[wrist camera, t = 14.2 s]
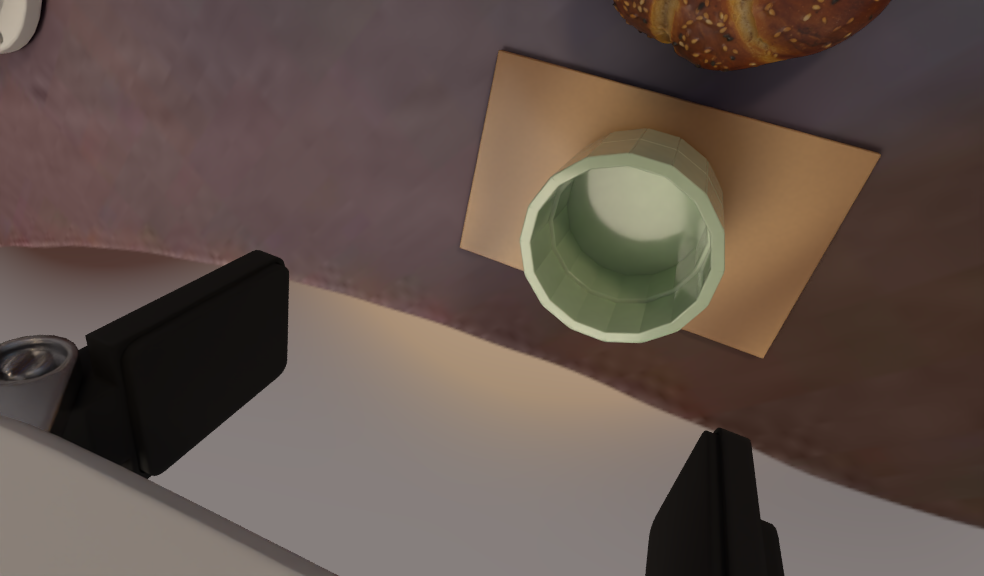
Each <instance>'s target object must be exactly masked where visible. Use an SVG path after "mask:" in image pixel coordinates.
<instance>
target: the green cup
mask: <svg viewBox="0 0 984 576" xmlns="http://www.w3.org/2000/svg"><path fill="white" fill-rule="evenodd" d="M520 247H521V254H522V261H523V268H524V274H525V276H526V278H527V280H528V282H529V283H530V285H531V287H532V289H533V290H534V292H535V294H536V296H537V297H538V299H539V301H540V302H541V304H542V305H543V306H544V307H545V308H546V309H547V310H548V311H549V312H551V313H552V314H553V315H554V316H555V317H557V318H558V319H559V320H560V321H561V322H563V323H564V324H565V325H566V326H567V327H569V328H570V329H572V330H575V331H578V332H580V333H583V334H585V335H588V336H591V337H593V338H596V339H598V340H601V341H605V342H626V343H644V342H647V341H650V340H653V339H656V338H659V337H662V336H665V335H668V334H671V333H674V332H677V331H679V330H680V329H681V328H683V327H684V326H685V325H686V324H687V323H689V322H690V321H691V320H692V319H693V318H695V317H696V316H697V315H698V314H699V313H701V312H702V311H703V310H704V309H705V308H707V306H708V305H709V303H710V301H711V299H712V297H713V295H714V293H715V291H716V289H717V287H718V285H719V282H720V280H721V278H722V276H723V274H724V271H725V226H724V207H723V192H722V188H721V186H720V184H719V182H718V180H717V178H716V176H715V174H714V172H713V169H712V167H711V165H710V163H709V162H708V161H707V159H706V158H705V157H704V156H702V155H701V154H700V153H699V152H698V151H696V150H695V149H694V148H693V147H692V146H690V145H689V144H688V143H687V142H686V141H684V140H683V139H681V138H680V137H677V136H673V135H670V134H667V133H663V132H660V131H656V130H653V129H649V128H642V129H633V130H624V131H616V132H612V133H609V134H608V135H606V136H604V137H602V138H600V139H598V140H597V141H595V142H593V143H591V144H589V145H588V146H586V147H584V148H583V149H582V150H581V151H579V152H578V153H577V154H576V155H575V156H574V157H573V158H572V159H570V160H569V161H568V162H567V163H566V164H565V165H564V166H562V167H561V168H560V169H559V170H558V171H557V172H556V173H555V174H553V175H552V176H551V177H550V178H549V180H548V181H547V182H546V184H545V185H544V186H543V187H542V189H541V190H540V191H539V192H538V194H537V195H536V196H535V198H534V199H533V200H532V201H531V203H530V204H529V206H528V209H527V212H526V216H525V220H524V224H523V228H522V232H521V236H520Z"/></svg>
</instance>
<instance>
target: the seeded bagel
mask: <svg viewBox="0 0 984 576" xmlns="http://www.w3.org/2000/svg"><path fill="white" fill-rule="evenodd" d="M613 1H614V4H613V5H614V6H615V8H616V10H617V11H618V12H620V15H621V16H622V17H623V18H624V19H626V23H627V24H629V25H632V26H634V27H635V28H636V29H637V30H638V31H639V32H640V33H642V32H644V33H646V34H647V36H648V37H650V38H655V39H656V40H658V41H660V42H662V43H667V44H668V43H672V45H673V46H674V50H675V52H676V53H677V54H678V55H679V56H681V57H683V58H685V59H686V60H688V61H689V62H691V63H693V64H695V66H696V67H698V68H700V67H701V68H703V69H710V70H717V71H733V70H739V69H745V68H751V67H757V66H759V65H763V64H768V63H773V62H777V61H781V60H787V59H791V58H797V57H802V56H807V55H812V54H815V53H818V52H821V51H823V50H826V49H828V48H830V47H833V46H835V45H837V44H839V43H841V42H843V41H844V40H846V39H848V38H849V37H851V36H852V35H854V34H855V33H857V32H858V31H860V30H861V29H862V28H864V27H865V26H866V25H867V24H869V23H870V22H871V21H872V20H874V19H875V18H876V17H877V16H878V15H879V14H880V13H881V12H882V11H883V10H884V9H885V7H886V6H887V5H888V4H889V3H890V1H891V0H613Z"/></svg>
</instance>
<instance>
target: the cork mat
mask: <svg viewBox="0 0 984 576" xmlns="http://www.w3.org/2000/svg"><path fill="white" fill-rule="evenodd" d="M642 128H649V129H653V130H656V131H660V132H663V133H667V134H670V135H673V136H677V137H680V138H681V139H683V140H684V141H686V142H687V143H688V144H689V145H690V146H692V147H693V148H694V149H695V150H696V151H698V152H699V153H700V154H701V155H702V156H704V157H705V158H706V159H707V161H708V162H709V163H710V165H711V167H712V169H713V172H714V174H715V176H716V178H717V180H718V182H719V184H720V186H721V188H722V192H723V207H724V226H725V271H724V274H723V276H722V278H721V280H720V282H719V285H718V287H717V289H716V291H715V293H714V295H713V297H712V299H711V301H710V303H709V305H708V306H707V308H705V309H704V310H703V311H702V312H701V313H699V314H698V315H697V316H696V317H695V318H693V319H692V320H691V321H690V322H689V323H687V324H686V325H685V326H684V327H683V328H681V329H683V330H686V331H689V332H692V333H694V334H697V335H700V336H703V337H705V338H708V339H711V340H714V341H716V342H719V343H722V344H724V345H727V346H730V347H733V348H735V349H738V350H741V351H744V352H746V353H749V354H752V355H755V356H757V357H760V358H764V356H765V354H766V353H767V351H768V349H769V347H770V346H771V344H772V342H773V341H774V339H775V337H776V335H777V334H778V332H779V330H780V328H781V327H782V325H783V323H784V322H785V320H786V318H787V316H788V315H789V313H790V311H791V310H792V308H793V306H794V304H795V303H796V301H797V299H798V297H799V296H800V294H801V292H802V291H803V289H804V287H805V285H806V284H807V282H808V280H809V279H810V277H811V275H812V273H813V272H814V270H815V268H816V266H817V265H818V263H819V261H820V260H821V258H822V256H823V254H824V253H825V251H826V249H827V248H828V246H829V244H830V242H831V241H832V239H833V237H834V235H835V234H836V232H837V230H838V229H839V227H840V225H841V223H842V222H843V220H844V218H845V217H846V215H847V213H848V211H849V210H850V208H851V206H852V204H853V203H854V201H855V199H856V198H857V196H858V194H859V192H860V191H861V189H862V187H863V186H864V184H865V182H866V180H867V179H868V177H869V175H870V173H871V172H872V170H873V168H874V167H875V165H876V163H877V161H878V160H879V158H880V156H881V154H879V153H878V152H874V151H870V150H867V149H863V148H859V147H856V146H852V145H848V144H845V143H841V142H837V141H834V140H830V139H826V138H823V137H819V136H815V135H812V134H808V133H804V132H801V131H797V130H793V129H790V128H786V127H782V126H779V125H775V124H771V123H768V122H764V121H760V120H757V119H753V118H749V117H746V116H742V115H739V114H735V113H731V112H728V111H724V110H720V109H717V108H713V107H709V106H706V105H702V104H698V103H695V102H691V101H687V100H684V99H680V98H676V97H673V96H669V95H665V94H662V93H658V92H654V91H651V90H647V89H643V88H640V87H636V86H632V85H629V84H625V83H621V82H618V81H614V80H611V79H607V78H603V77H600V76H596V75H592V74H589V73H585V72H581V71H578V70H574V69H570V68H567V67H563V66H559V65H556V64H552V63H548V62H545V61H541V60H537V59H534V58H530V57H526V56H523V55H519V54H515V53H512V52H508V51H504V50H499V52H498V57H497V62H496V67H495V72H494V77H493V82H492V87H491V92H490V97H489V102H488V107H487V112H486V117H485V122H484V127H483V132H482V137H481V142H480V147H479V152H478V157H477V162H476V167H475V172H474V177H473V182H472V187H471V193H470V198H469V203H468V208H467V213H466V218H465V223H464V228H463V233H462V238H461V243H460V248H462V249H465V250H468V251H470V252H473V253H476V254H479V255H481V256H484V257H487V258H490V259H492V260H495V261H498V262H500V263H503V264H506V265H509V266H511V267H514V268H517V269H520V270H522V271H524V268H523V261H522V254H521V247H520V236H521V232H522V228H523V224H524V220H525V216H526V212H527V209H528V206H529V204H530V203H531V201H532V200H533V199H534V198H535V196H536V195H537V194H538V192H539V191H540V190H541V189H542V187H543V186H544V185H545V184H546V182H547V181H548V180H549V178H550V177H551V176H552V175H553V174H555V173H556V172H557V171H558V170H559V169H560V168H561V167H562V166H564V165H565V164H566V163H567V162H568V161H569V160H570V159H572V158H573V157H574V156H575V155H576V154H577V153H578V152H579V151H581V150H582V149H583V148H584V147H586V146H588V145H589V144H591V143H593V142H595V141H597V140H598V139H600V138H602V137H604V136H606V135H608V134H609V133H612V132H616V131H624V130H633V129H642Z"/></svg>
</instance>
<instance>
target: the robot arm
mask: <svg viewBox="0 0 984 576" xmlns="http://www.w3.org/2000/svg"><path fill="white" fill-rule="evenodd" d="M41 6H42V0H0V53H10V52H14V51H18V50H19V49H21V48H22V47H23V46H25V45H26V44H27V43H28V42H29V40H30V39H31V37H32V36H33V34H34V33H35V30H36V28H37V25H38V22H39V19H40V13H41ZM288 295H289V271H288V269H287V268H286V267H285V264H284V262H283V260H282V259H281V258H278V257H276V256H273V255H271V254H268V253H265V252H263V251H260V250H255V251H252V252H250V253H248V254H246V255H244V256H242V257H240V258H238V259H236V260H234V261H232V262H230V263H228V264H226V265H224V266H222V267H220V268H218V269H216V270H214V271H213V272H211V273H209V274H206V275H205V276H203V277H201V278H199V279H197V280H195V281H193V282H191V283H189V284H187V285H185V286H183V287H181V288H179V289H177V290H175V291H173V292H171V293H169V294H167V295H165V296H163V297H161V298H159V299H157V300H155V301H153V302H151V303H149V304H147V305H145V306H143V307H141V308H139V309H137V310H135V311H133V312H131V313H129V314H128V315H125V316H123V317H121V318H119V319H117V320H115V321H113V322H111V323H109V324H107V325H105V326H103V327H101V328H99V329H97V330H95V331H93V332H91V333H89V334H87V335H86V341H87V346H86V347H84V348H82V349H80V350H78V349H77V347H76V345H75V344H74V343H73V342H71V341H70V340H68V339H66V338H63V337H58V336H54V335H53V336H52V335H34V336H25V337H20V338H17V339H12V340H9V341H6V342H3V343H1V344H0V576H338V575H336V574H334V573H332V572H330V571H328V570H326V569H324V568H322V567H320V566H318V565H316V564H314V563H312V562H310V561H308V560H306V559H305V558H302V557H301V556H299V555H297V554H295V553H293V552H291V551H289V550H287V549H285V548H283V547H281V546H279V545H277V544H275V543H273V542H271V541H269V540H267V539H265V538H263V537H261V536H259V535H257V534H255V533H253V532H251V531H249V530H247V529H245V528H243V527H241V526H239V525H237V524H235V523H233V522H231V521H230V520H227V519H226V518H223V517H221V516H220V515H217V514H216V513H214V512H212V511H210V510H207V509H206V508H204V507H202V506H200V505H198V504H196V503H194V502H192V501H190V500H187V499H186V498H184V497H182V496H180V495H178V494H176V493H173V492H172V491H170V490H167V489H165V488H164V487H162V486H159V485H158V484H155V483H154V482H152V481H150V480H148V478H149V477H151V476H157V475H159V474H161V473H163V472H164V471H166V470H167V469H168V468H169V467H170V466H172V465H173V464H174V463H175V462H176V461H178V460H179V459H180V458H181V457H182V456H183V455H185V454H186V453H187V452H188V451H189V450H191V449H192V448H193V447H194V446H196V445H197V444H198V443H199V442H200V441H202V440H203V439H204V438H205V437H206V436H207V435H209V434H210V433H211V432H212V431H214V430H215V429H216V428H217V427H218V426H220V425H221V424H222V423H223V422H224V421H226V420H227V419H228V418H229V417H230V416H232V415H233V414H234V413H235V412H236V411H237V410H239V409H240V408H241V407H242V406H244V405H245V404H246V403H247V402H249V401H250V400H251V399H252V398H253V397H255V396H256V395H257V394H258V393H259V392H261V391H262V390H263V389H264V388H265V387H267V386H268V385H269V384H270V383H271V382H273V381H274V380H275V379H276V378H277V377H278V376H279V375H280V374H281V373H282V372H283V371H284V369H285V367H286V364H287V344H288V299H289V296H288ZM645 576H784V570H783V564H782V558H781V551H780V546H779V538H778V534H777V530H776V528H775V527H774V526H773V524H770V523H768V522H766V521H763V520H761V519H760V511H759V503H758V495H757V487H756V479H755V471H754V463H753V455H752V446H751V442H750V440H749V439H748V438H746V437H743V436H740V435H738V434H735V433H733V432H730V431H727V430H725V429H722V428H717V429H716V430H715V431H714V433H712V432H709V431H704V432H703V433H702V435H701V437H700V438H699V440H698V442H697V444H696V445H695V447H694V449H693V451H692V453H691V454H690V456H689V458H688V460H687V461H686V463H685V465H684V467H683V469H682V470H681V472H680V474H679V476H678V478H677V479H676V481H675V483H674V485H673V487H672V488H671V490H670V492H669V494H668V495H667V497H666V499H665V501H664V503H663V504H662V506H661V508H660V510H659V512H658V513H657V515H656V517H655V519H654V521H653V524H652V527H651V530H650V535H649V544H648V554H647V564H646V574H645Z"/></svg>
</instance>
